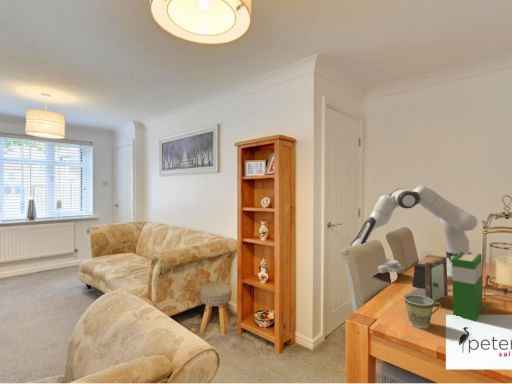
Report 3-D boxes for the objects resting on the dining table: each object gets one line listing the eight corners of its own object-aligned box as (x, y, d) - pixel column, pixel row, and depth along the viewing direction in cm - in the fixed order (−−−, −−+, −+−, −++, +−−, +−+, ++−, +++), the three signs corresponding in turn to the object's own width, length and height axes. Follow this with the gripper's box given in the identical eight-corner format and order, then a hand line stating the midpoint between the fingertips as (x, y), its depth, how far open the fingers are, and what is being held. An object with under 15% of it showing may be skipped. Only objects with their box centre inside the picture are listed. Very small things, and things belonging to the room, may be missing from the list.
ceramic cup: (411, 330, 105) (410, 304, 104) (401, 318, 114) (400, 294, 114) (448, 332, 103) (447, 305, 102) (435, 319, 112) (434, 295, 112)
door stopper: (424, 289, 145) (423, 266, 145) (412, 286, 150) (411, 264, 150) (430, 285, 151) (430, 263, 150) (419, 282, 155) (418, 261, 155)
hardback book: (462, 302, 127) (461, 251, 127) (482, 307, 122) (481, 254, 122) (453, 315, 115) (451, 259, 115) (475, 321, 110) (474, 262, 110)
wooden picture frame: (442, 294, 138) (442, 256, 138) (447, 295, 136) (446, 257, 136) (425, 304, 127) (424, 263, 127) (430, 305, 125) (429, 264, 125)
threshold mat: (419, 289, 146) (419, 288, 146) (442, 295, 137) (442, 294, 137) (403, 296, 136) (403, 295, 136) (428, 303, 127) (427, 302, 127)
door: (441, 294, 136) (440, 262, 136) (447, 296, 133) (447, 264, 133) (429, 302, 128) (428, 268, 128) (435, 304, 126) (434, 269, 125)
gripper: (367, 262, 165) (389, 267, 154) (385, 256, 177) (407, 260, 166) (367, 272, 165) (390, 278, 154) (386, 266, 177) (408, 271, 166)
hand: (399, 269), depth 160 cm, fingers open, 8 cm apart
